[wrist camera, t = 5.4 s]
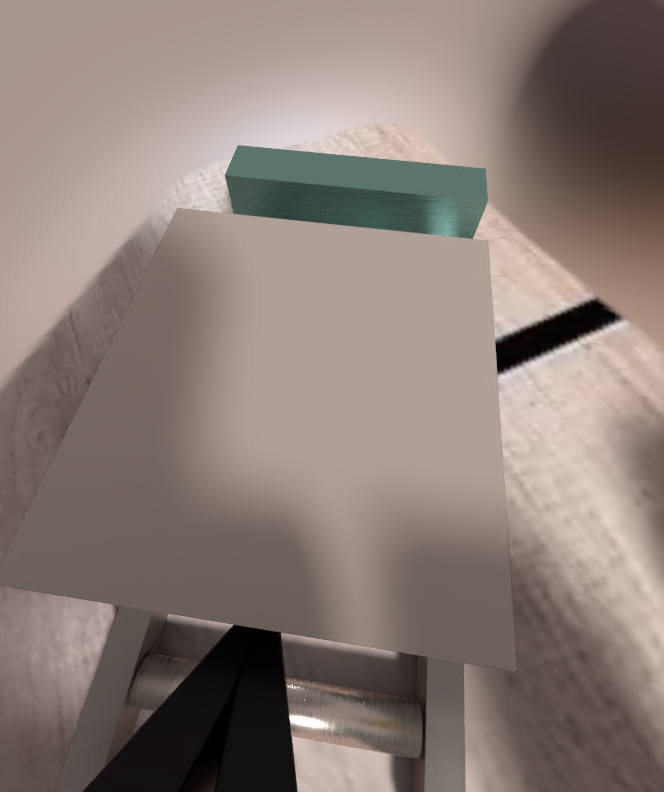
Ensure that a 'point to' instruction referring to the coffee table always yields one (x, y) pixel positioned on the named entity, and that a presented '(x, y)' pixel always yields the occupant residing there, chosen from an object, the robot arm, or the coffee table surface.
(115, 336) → the off-white matte cube
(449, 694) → the roller bed
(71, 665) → the coffee table surface
